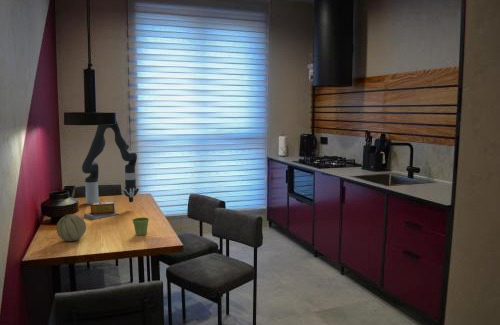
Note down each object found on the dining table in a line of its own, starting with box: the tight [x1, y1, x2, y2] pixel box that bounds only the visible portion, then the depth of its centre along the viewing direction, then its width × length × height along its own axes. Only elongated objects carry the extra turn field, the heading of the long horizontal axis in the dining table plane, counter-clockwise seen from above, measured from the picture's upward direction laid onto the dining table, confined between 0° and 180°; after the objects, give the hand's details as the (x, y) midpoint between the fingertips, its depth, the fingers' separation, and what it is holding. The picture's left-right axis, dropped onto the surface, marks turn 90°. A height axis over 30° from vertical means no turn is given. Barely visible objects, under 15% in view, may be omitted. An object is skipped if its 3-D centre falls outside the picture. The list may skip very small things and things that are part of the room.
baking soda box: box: [90, 201, 117, 215], centre depth 292 cm, size 10×6×16 cm
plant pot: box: [132, 217, 150, 236], centre depth 237 cm, size 9×9×9 cm
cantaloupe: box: [56, 213, 87, 242], centre depth 225 cm, size 15×15×15 cm
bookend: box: [83, 212, 120, 221], centre depth 283 cm, size 12×19×2 cm, turn 139°
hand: (131, 202), depth 302 cm, fingers closed
